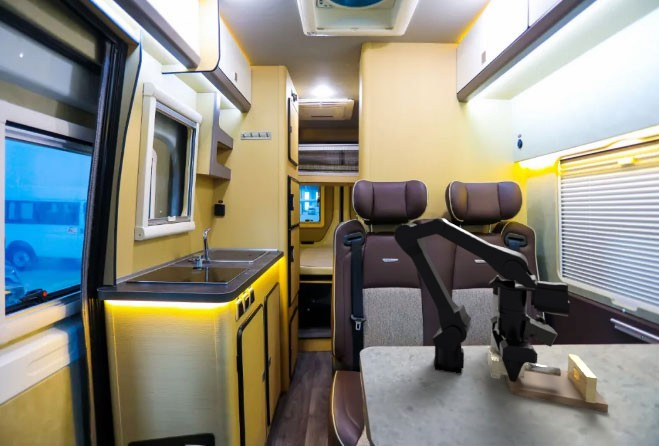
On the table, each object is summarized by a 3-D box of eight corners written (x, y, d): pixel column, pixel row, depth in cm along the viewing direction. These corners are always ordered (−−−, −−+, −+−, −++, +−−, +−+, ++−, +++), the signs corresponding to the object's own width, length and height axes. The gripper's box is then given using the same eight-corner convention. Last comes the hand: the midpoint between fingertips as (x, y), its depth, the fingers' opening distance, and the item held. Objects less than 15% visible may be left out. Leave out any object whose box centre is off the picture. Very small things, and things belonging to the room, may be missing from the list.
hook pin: (491, 377, 69) (492, 360, 69) (487, 362, 76) (488, 346, 76) (564, 389, 65) (565, 371, 64) (553, 372, 71) (554, 355, 71)
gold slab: (585, 401, 62) (587, 376, 62) (567, 376, 71) (568, 354, 71) (595, 403, 62) (596, 378, 61) (575, 377, 71) (576, 355, 70)
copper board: (511, 393, 67) (511, 387, 67) (501, 366, 78) (501, 360, 78) (607, 411, 61) (608, 404, 61) (582, 379, 73) (582, 373, 72)
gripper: (570, 327, 59) (566, 405, 60) (540, 298, 76) (538, 359, 77) (504, 319, 63) (501, 393, 64) (490, 294, 80) (489, 352, 81)
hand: (509, 372), depth 71 cm, fingers open, 7 cm apart
